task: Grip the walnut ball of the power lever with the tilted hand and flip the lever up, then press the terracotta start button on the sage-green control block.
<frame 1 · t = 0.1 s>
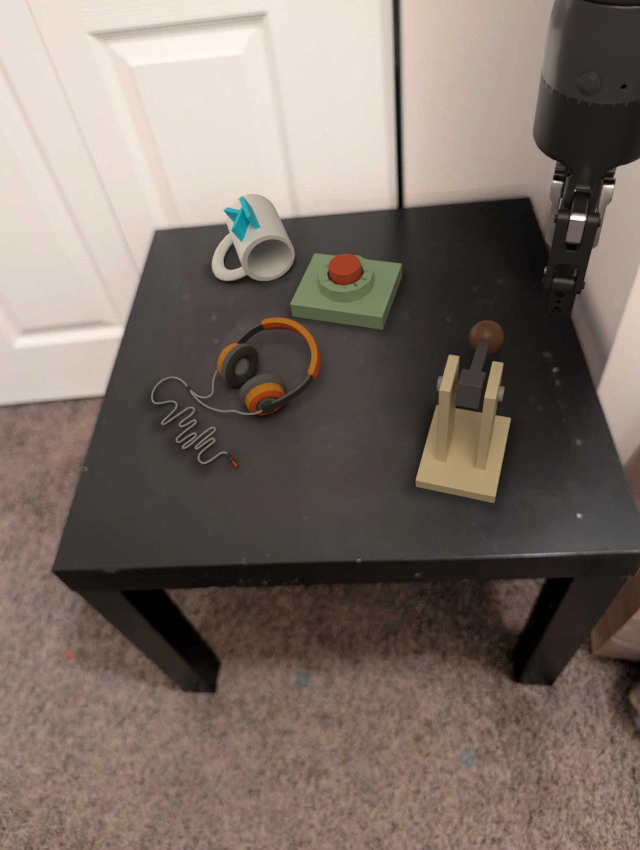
hand: (561, 276, 52), 23 cm above the table, tool pointing down, fingers open, 8 cm apart
mug: (249, 258, 94), on the table
start button: (345, 269, 83), point 4 cm above the table, slide at 0.1 cm
power lever: (479, 360, 66), point 9 cm above the table, hinge at -20.0°
switch bracket: (463, 455, 70), on the table
headphones: (245, 399, 79), on the table
control block: (348, 296, 87), on the table
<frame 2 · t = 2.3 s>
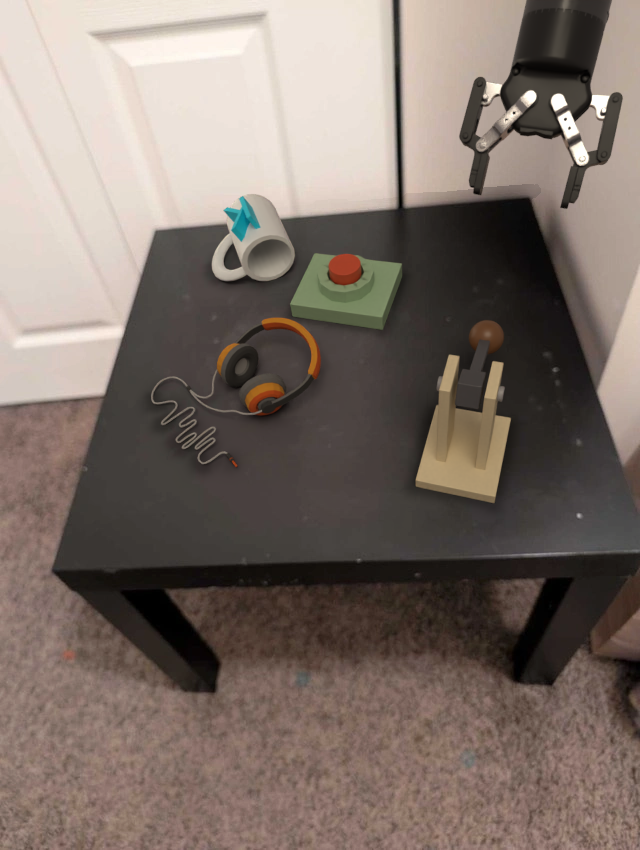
hand: (520, 200, 66), 18 cm above the table, tool tilted 40°, fingers open, 8 cm apart
nothing on the table moved.
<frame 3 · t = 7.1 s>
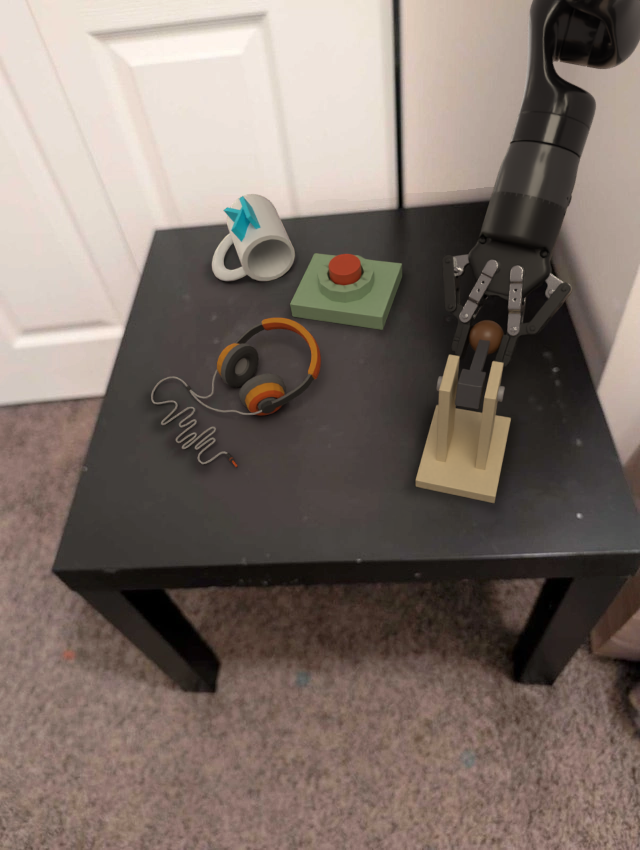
hand: (478, 363, 71), 5 cm above the table, tool tilted 45°, fingers closed on power lever, 3 cm apart
power lever: (479, 360, 66), point 9 cm above the table, hinge at -20.0°, touching gripper
everything else where it was.
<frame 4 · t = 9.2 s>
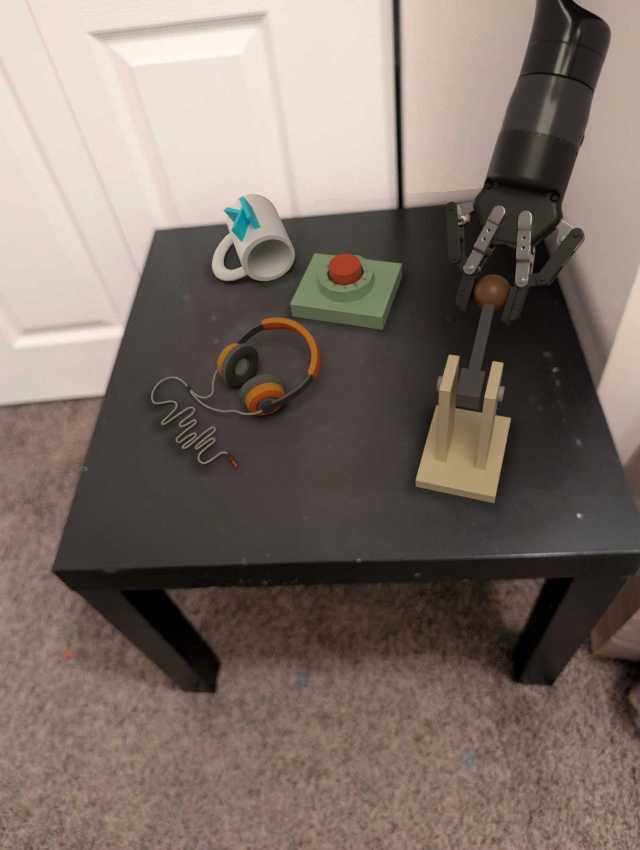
hand: (484, 318, 66), 11 cm above the table, tool tilted 45°, fingers closed on power lever, 3 cm apart
power lever: (481, 337, 64), point 12 cm above the table, hinge at 10.5°, touching gripper
everything else where it was.
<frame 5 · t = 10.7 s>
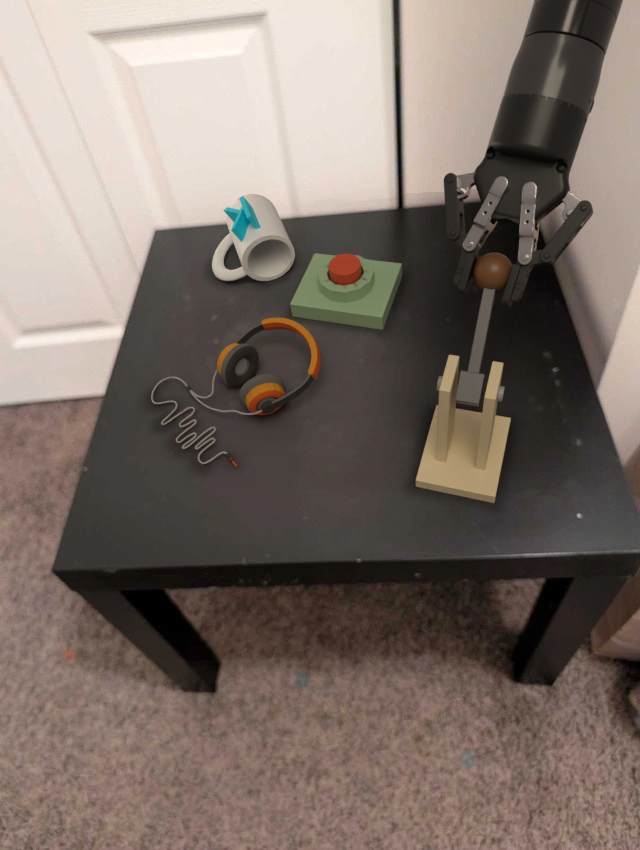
hand: (484, 298, 62), 15 cm above the table, tool tilted 45°, fingers closed on power lever, 3 cm apart
power lever: (482, 328, 62), point 14 cm above the table, hinge at 33.0°, touching gripper
everything else where it was.
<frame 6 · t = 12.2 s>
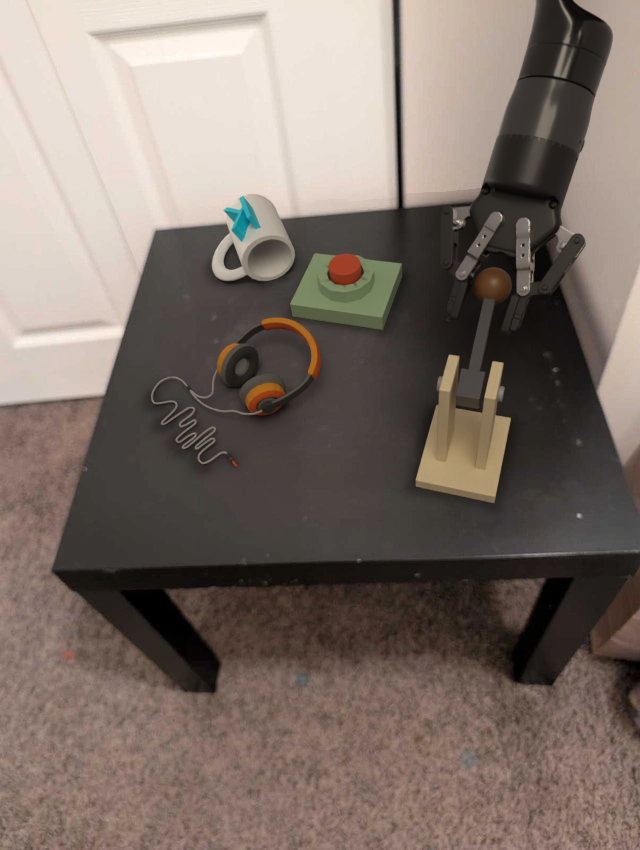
hand: (480, 326, 65), 12 cm above the table, tool tilted 45°, fingers open, 4 cm apart
power lever: (482, 334, 63), point 13 cm above the table, hinge at 16.6°
everything else where it was.
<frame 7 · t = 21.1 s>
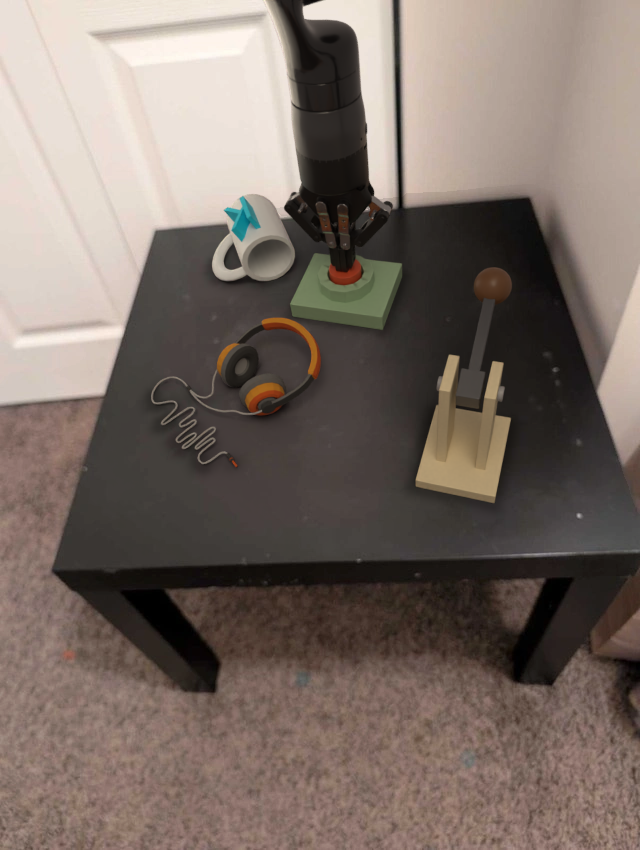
hand: (344, 267, 83), 5 cm above the table, tool pointing down, fingers closed
start button: (345, 272, 84), point 4 cm above the table, slide at -0.4 cm, touching gripper
everything else where it was.
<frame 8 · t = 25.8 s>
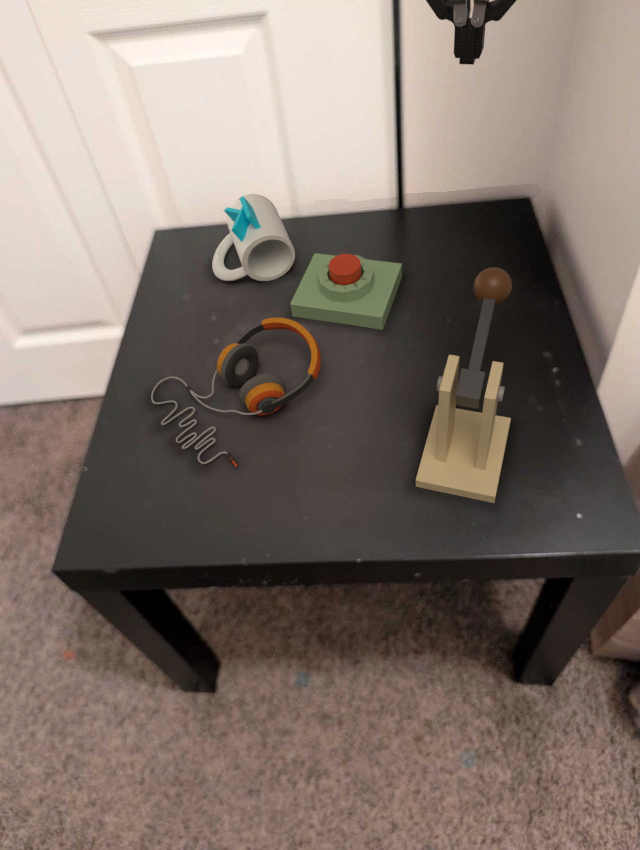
hand: (468, 60, 70), 25 cm above the table, tool pointing down, fingers closed
start button: (345, 269, 83), point 4 cm above the table, slide at 0.1 cm
everything else where it was.
at the end: power lever at +17° (first picture: -20°); start button pushed in 1.0 cm at the most during the clip, back to where it started at the end; start button slide at 0.1 cm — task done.
